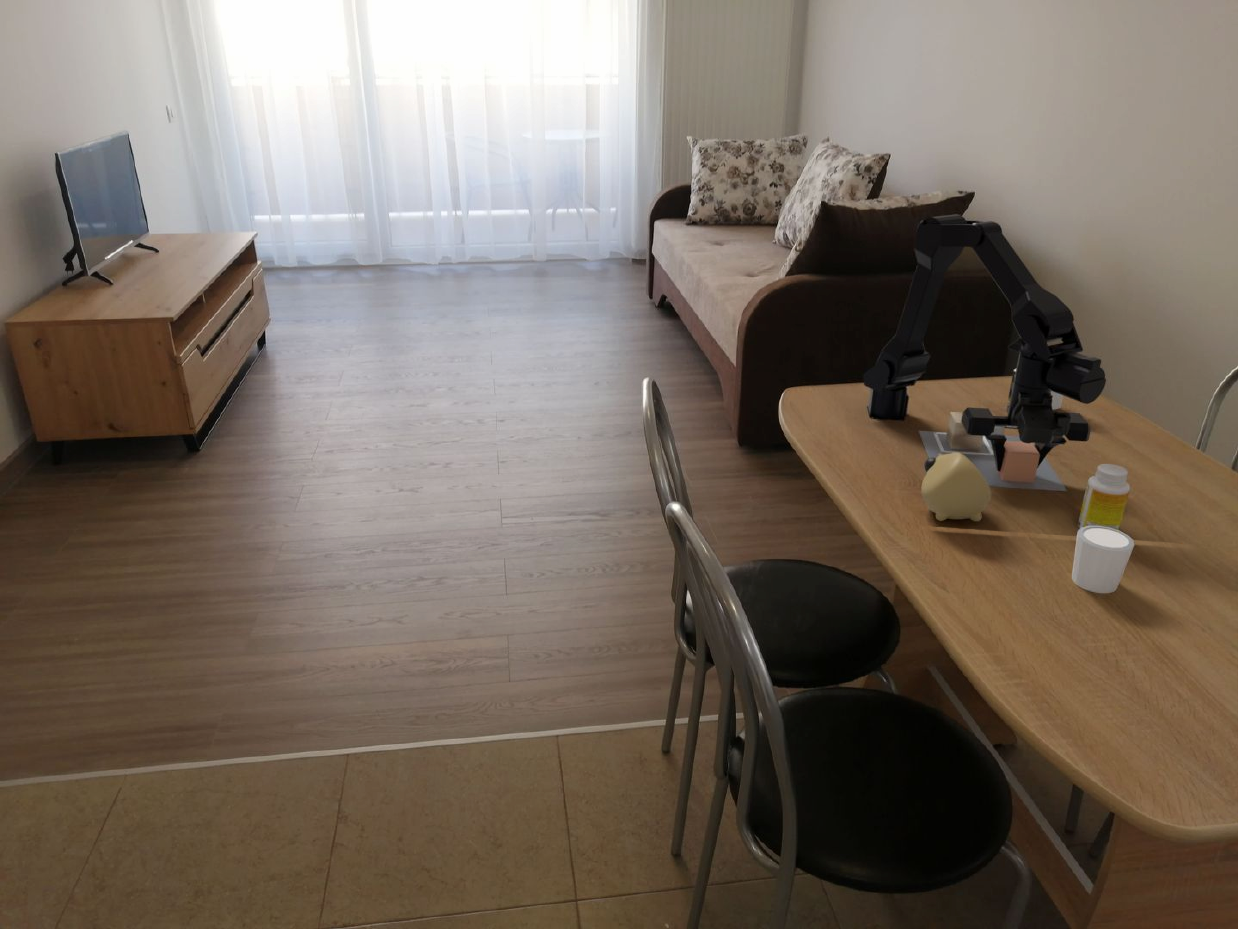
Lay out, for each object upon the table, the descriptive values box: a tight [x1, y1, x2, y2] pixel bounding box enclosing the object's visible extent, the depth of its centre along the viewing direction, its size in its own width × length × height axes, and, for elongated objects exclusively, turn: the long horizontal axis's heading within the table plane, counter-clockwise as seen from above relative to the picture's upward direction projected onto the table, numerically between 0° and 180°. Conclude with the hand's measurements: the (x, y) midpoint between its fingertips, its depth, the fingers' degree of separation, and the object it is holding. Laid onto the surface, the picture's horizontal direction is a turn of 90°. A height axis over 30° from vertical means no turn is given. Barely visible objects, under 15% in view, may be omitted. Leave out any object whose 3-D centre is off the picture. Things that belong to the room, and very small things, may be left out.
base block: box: [946, 411, 983, 450], centre depth 166 cm, size 5×5×5 cm
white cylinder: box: [1071, 526, 1135, 594], centre depth 125 cm, size 7×7×7 cm
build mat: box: [918, 430, 1068, 492], centre depth 162 cm, size 20×22×1 cm
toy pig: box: [920, 452, 993, 522], centre depth 142 cm, size 10×12×11 cm
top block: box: [995, 441, 1040, 482], centre depth 155 cm, size 5×5×5 cm
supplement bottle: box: [1077, 463, 1131, 531], centre depth 138 cm, size 6×6×10 cm
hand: (1015, 471), depth 155 cm, fingers closed on top block, 5 cm apart
